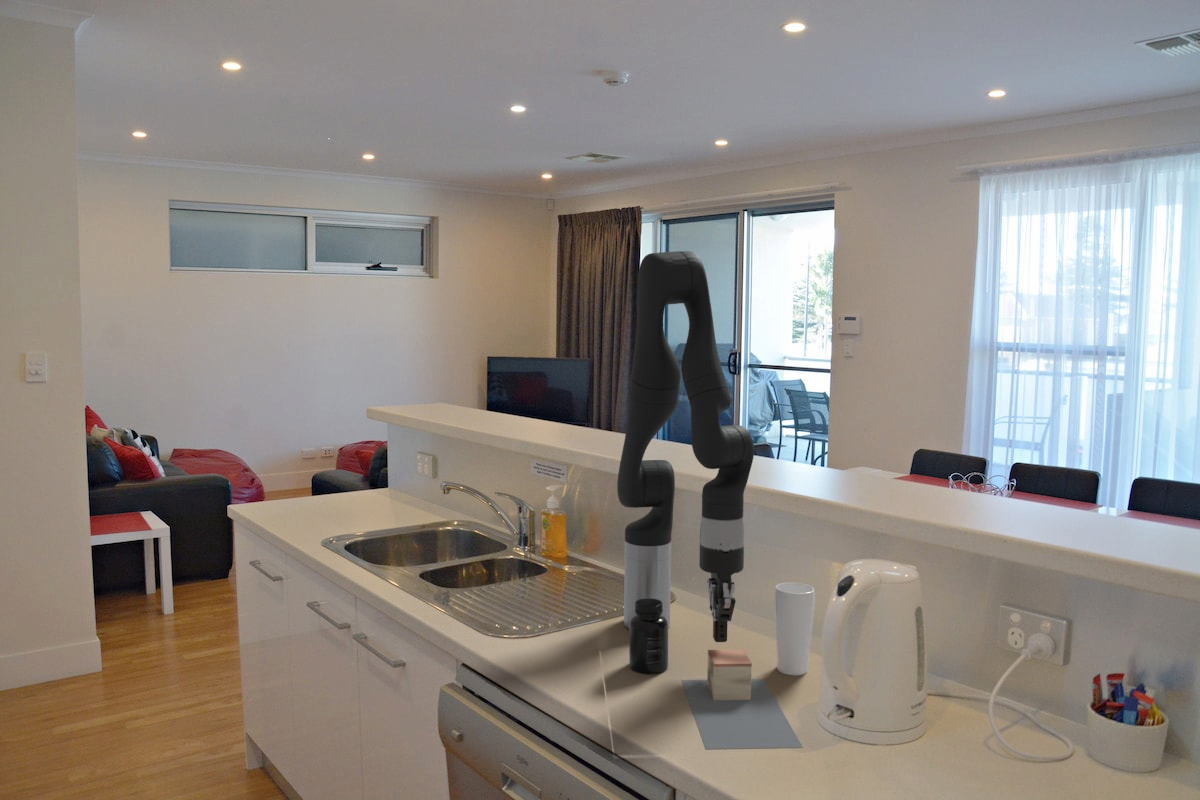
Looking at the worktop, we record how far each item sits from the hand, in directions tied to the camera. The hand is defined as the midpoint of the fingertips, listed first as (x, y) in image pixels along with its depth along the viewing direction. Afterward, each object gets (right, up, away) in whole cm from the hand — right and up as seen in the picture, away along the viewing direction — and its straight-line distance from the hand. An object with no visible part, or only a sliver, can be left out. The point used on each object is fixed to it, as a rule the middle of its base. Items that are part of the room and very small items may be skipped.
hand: (719, 640), depth 153 cm
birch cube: (0, -6, -8) cm, 10 cm away
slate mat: (+1, -7, -15) cm, 17 cm away
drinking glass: (+13, -6, +2) cm, 14 cm away
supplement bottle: (-12, -6, +3) cm, 14 cm away
